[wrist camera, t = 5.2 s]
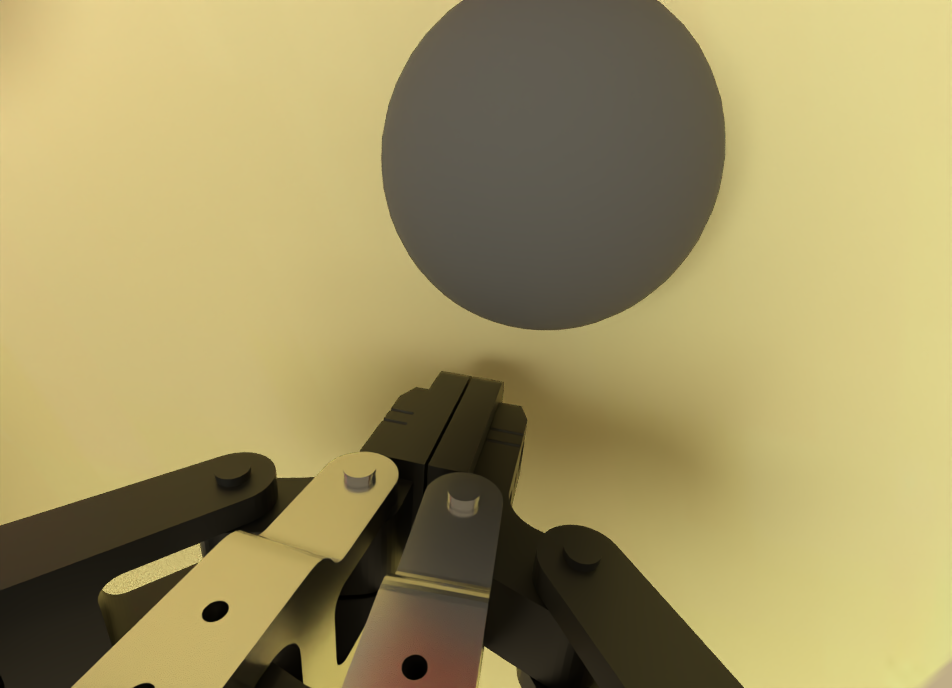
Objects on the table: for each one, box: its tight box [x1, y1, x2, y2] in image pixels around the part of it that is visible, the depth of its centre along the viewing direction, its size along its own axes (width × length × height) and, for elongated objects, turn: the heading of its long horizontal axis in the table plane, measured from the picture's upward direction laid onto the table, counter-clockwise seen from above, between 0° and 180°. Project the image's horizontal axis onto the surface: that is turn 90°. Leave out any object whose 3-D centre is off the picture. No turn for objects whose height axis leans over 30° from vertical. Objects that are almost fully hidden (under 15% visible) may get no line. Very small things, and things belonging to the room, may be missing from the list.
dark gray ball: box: [381, 0, 725, 330], centre depth 9 cm, size 6×6×6 cm
